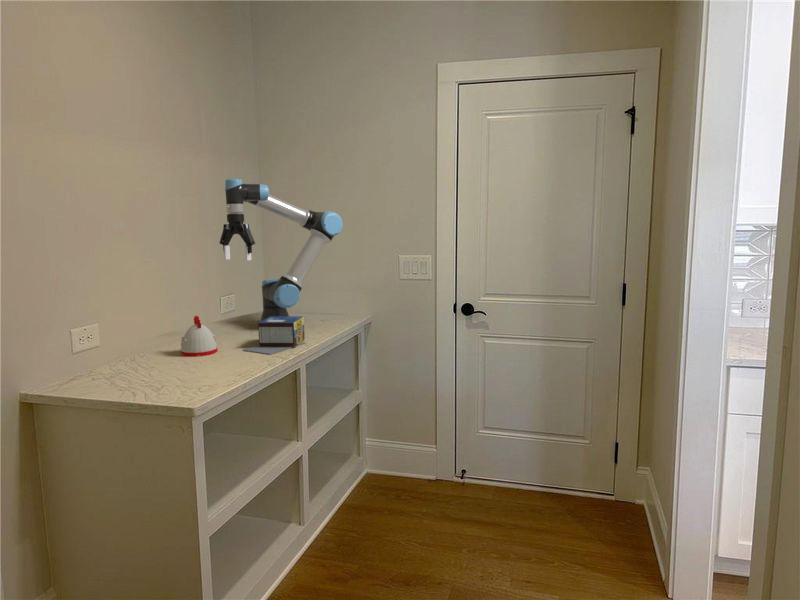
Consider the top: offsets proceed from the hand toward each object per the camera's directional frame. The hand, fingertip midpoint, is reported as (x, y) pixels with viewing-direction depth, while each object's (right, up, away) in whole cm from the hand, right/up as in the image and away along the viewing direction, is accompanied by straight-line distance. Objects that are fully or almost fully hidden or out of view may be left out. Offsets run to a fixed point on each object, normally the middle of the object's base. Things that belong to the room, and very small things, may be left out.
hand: (238, 259), depth 250 cm
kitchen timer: (-6, -40, -31) cm, 51 cm away
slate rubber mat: (+23, -38, -23) cm, 50 cm away
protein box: (+17, -32, -18) cm, 40 cm away
